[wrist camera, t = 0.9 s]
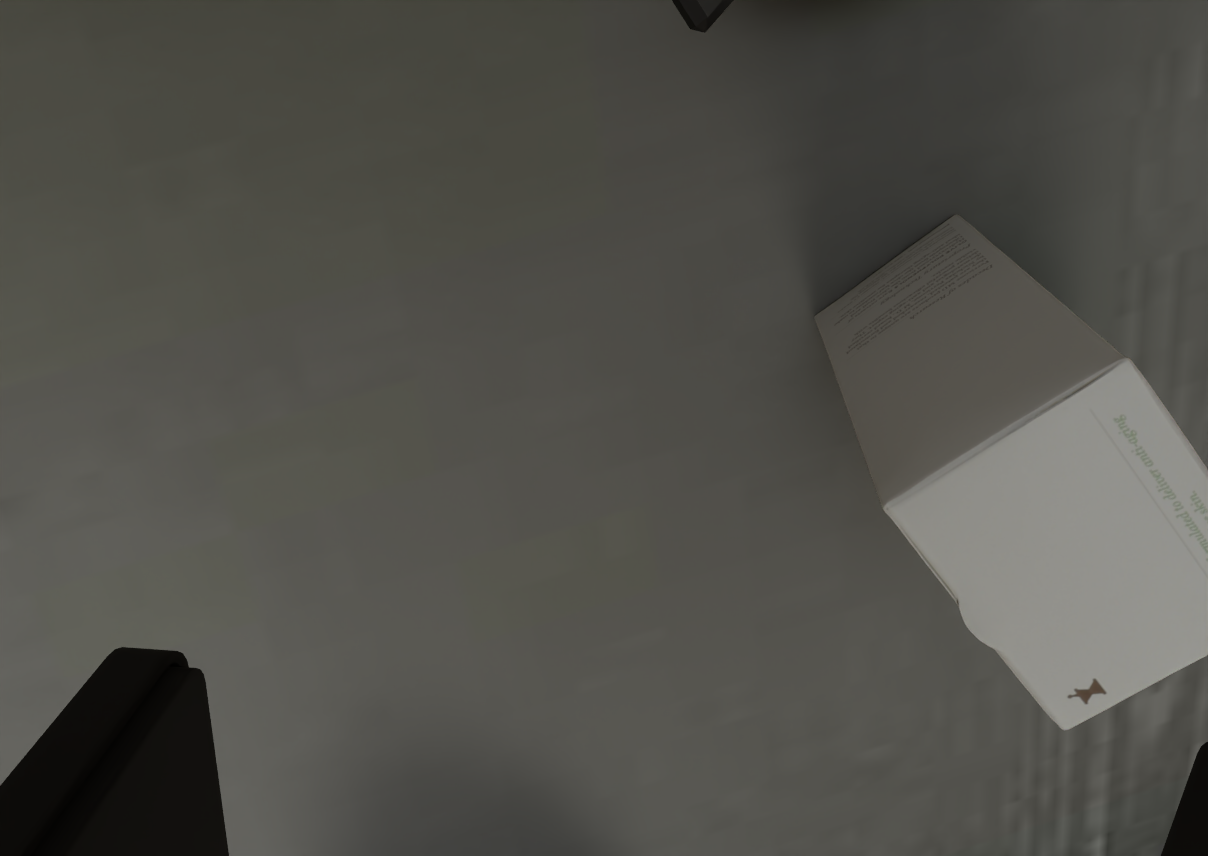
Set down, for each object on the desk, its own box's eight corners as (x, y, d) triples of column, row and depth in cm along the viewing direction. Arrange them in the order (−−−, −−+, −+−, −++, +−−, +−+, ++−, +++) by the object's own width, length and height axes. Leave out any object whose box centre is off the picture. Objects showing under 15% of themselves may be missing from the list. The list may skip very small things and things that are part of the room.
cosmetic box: (1073, 378, 38) (1322, 616, 24) (920, 476, 40) (1064, 751, 25) (952, 201, 35) (1146, 347, 21) (795, 314, 37) (877, 518, 23)
